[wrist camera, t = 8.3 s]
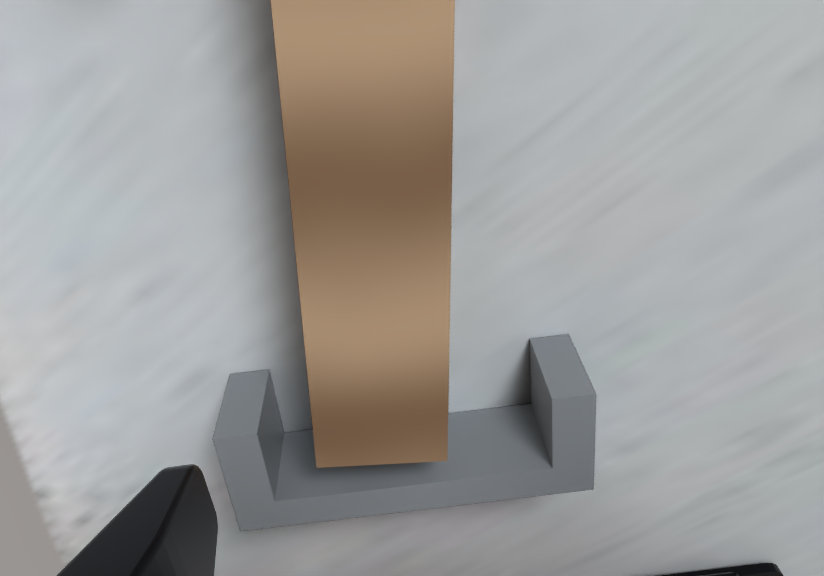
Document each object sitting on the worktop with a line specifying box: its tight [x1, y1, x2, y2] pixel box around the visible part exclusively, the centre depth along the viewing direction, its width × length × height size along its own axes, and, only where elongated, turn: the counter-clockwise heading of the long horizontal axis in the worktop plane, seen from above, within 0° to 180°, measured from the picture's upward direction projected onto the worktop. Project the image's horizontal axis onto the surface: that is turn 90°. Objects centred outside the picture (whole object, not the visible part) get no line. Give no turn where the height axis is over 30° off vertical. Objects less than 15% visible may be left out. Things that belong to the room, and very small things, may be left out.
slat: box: [271, 0, 455, 468], centre depth 17 cm, size 16×4×4 cm, turn 1°
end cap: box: [213, 334, 596, 531], centre depth 22 cm, size 4×10×3 cm, turn 96°
